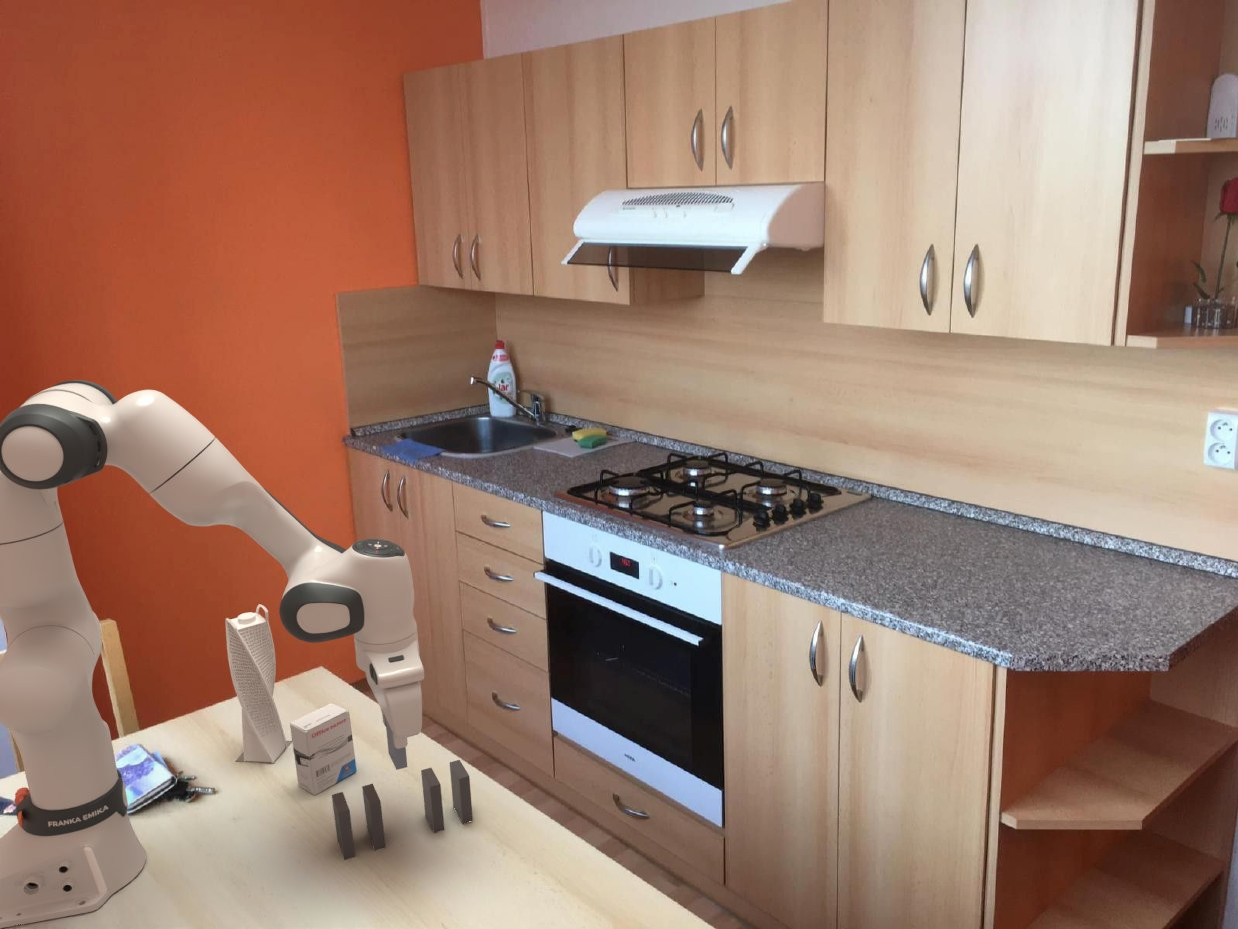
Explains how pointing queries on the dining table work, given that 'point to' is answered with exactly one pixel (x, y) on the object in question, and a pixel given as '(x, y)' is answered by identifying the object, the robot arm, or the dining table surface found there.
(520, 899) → the dining table surface
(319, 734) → the ink box
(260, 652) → the skyscraper
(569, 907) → the dining table surface
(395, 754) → the domino
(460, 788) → the domino
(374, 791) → the domino
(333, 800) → the domino
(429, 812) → the domino
